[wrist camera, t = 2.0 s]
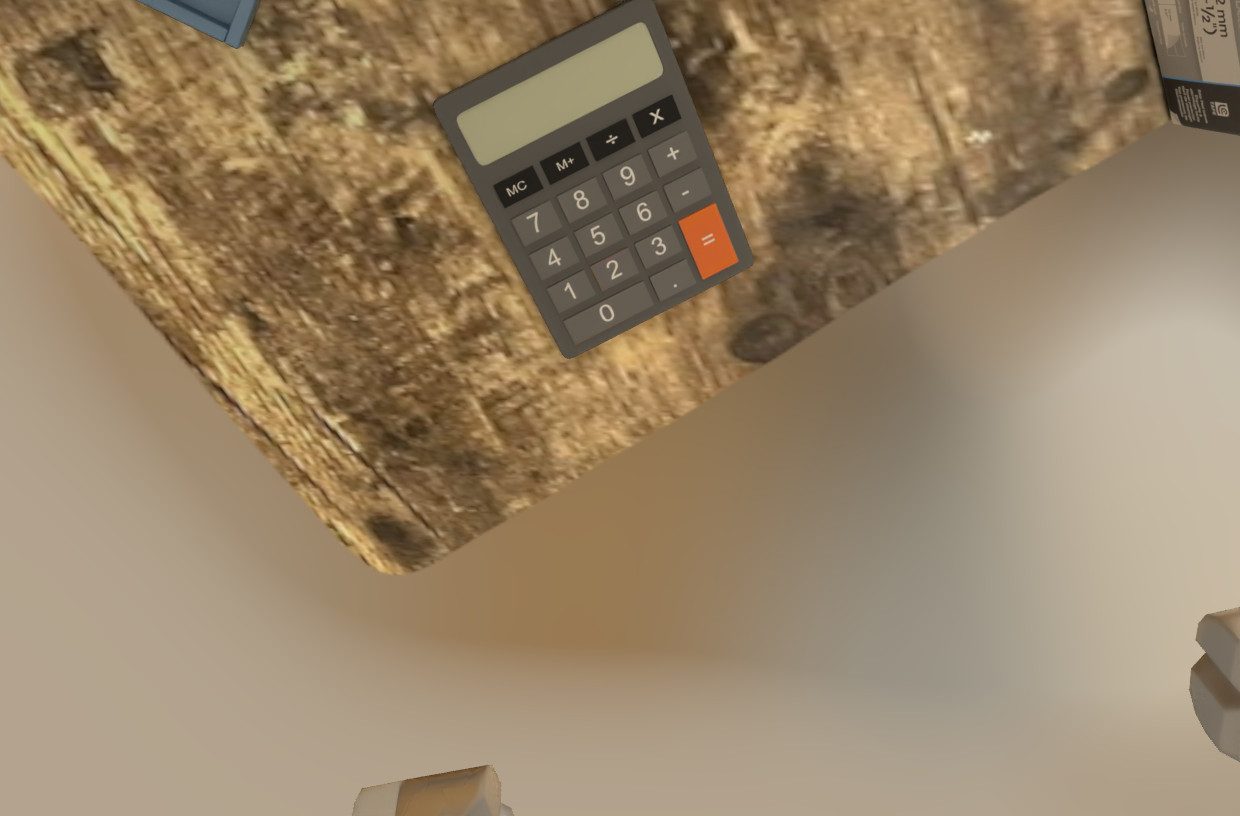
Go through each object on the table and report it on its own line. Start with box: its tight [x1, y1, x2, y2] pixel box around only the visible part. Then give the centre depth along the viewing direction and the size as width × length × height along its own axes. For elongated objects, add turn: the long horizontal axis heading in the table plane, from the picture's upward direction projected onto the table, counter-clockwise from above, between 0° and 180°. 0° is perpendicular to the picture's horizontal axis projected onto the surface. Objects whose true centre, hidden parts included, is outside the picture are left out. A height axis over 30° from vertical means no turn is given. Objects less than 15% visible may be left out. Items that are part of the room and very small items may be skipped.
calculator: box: [433, 0, 754, 359], centre depth 49 cm, size 12×1×15 cm
